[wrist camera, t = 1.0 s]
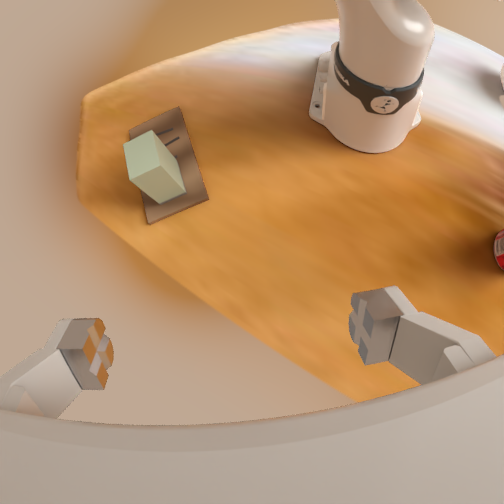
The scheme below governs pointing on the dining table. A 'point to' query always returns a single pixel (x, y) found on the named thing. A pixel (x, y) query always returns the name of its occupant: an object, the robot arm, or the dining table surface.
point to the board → (179, 145)
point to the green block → (153, 168)
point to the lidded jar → (502, 76)
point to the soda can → (499, 249)
